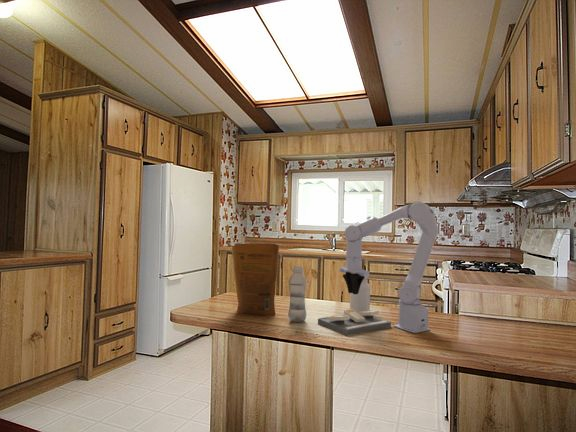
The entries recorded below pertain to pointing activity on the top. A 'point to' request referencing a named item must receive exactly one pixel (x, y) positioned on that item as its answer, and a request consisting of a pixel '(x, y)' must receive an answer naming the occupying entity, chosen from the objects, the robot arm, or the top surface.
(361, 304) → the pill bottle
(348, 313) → the paddle middle
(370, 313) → the paddle
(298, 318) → the plastic bottle
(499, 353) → the top surface
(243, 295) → the pancake mix bag
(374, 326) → the panel
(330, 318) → the paddle
